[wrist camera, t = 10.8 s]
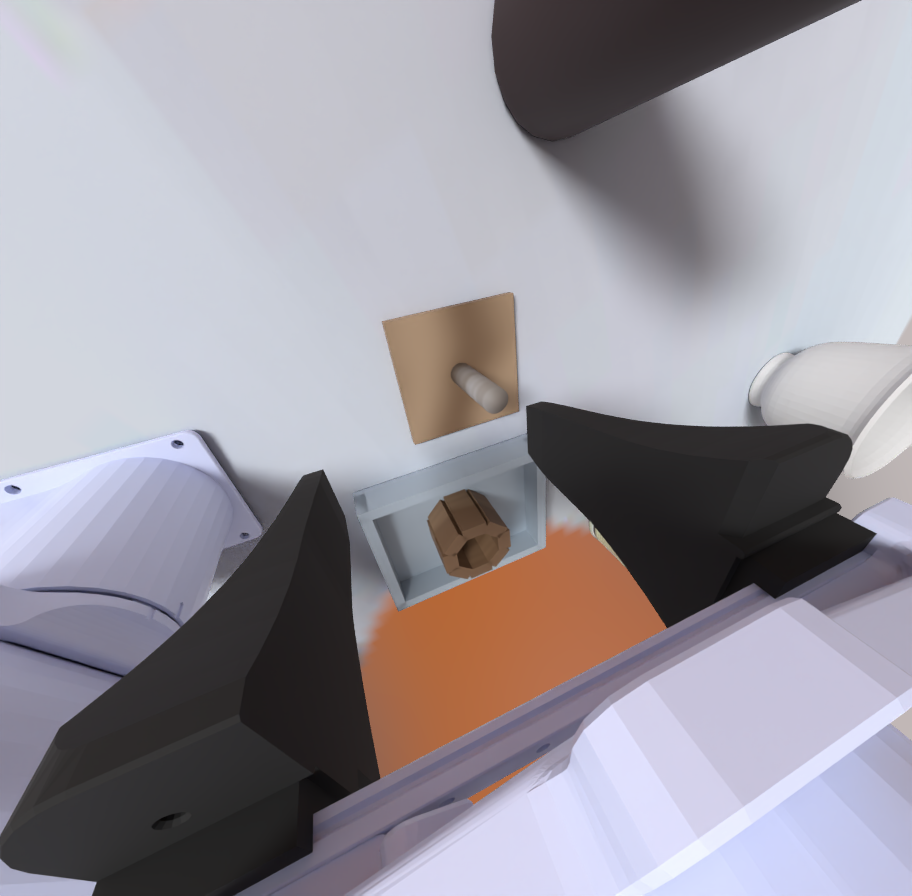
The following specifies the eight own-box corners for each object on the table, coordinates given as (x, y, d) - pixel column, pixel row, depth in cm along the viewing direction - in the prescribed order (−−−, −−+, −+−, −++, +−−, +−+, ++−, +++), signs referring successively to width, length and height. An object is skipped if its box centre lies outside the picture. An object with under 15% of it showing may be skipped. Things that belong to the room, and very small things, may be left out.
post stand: (413, 441, 23) (437, 486, 18) (381, 321, 18) (403, 341, 14) (515, 408, 24) (560, 442, 20) (509, 292, 20) (564, 301, 16)
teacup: (756, 451, 41) (866, 499, 32) (706, 410, 33) (834, 459, 25) (833, 362, 37) (978, 391, 29) (798, 294, 29) (981, 307, 21)
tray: (392, 586, 29) (398, 611, 27) (352, 493, 23) (356, 515, 21) (531, 528, 32) (545, 547, 30) (528, 433, 26) (546, 448, 24)
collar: (434, 549, 28) (450, 587, 24) (422, 504, 25) (438, 541, 22) (489, 527, 29) (512, 560, 26) (484, 481, 26) (508, 513, 23)
